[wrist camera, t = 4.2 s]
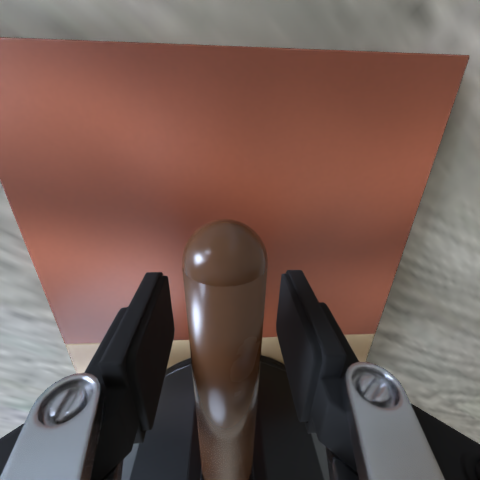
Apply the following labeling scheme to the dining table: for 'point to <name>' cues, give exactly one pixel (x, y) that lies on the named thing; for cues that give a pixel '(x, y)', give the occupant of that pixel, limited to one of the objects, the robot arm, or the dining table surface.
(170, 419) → the saucepan
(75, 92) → the board
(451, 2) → the dining table surface
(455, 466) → the robot arm
